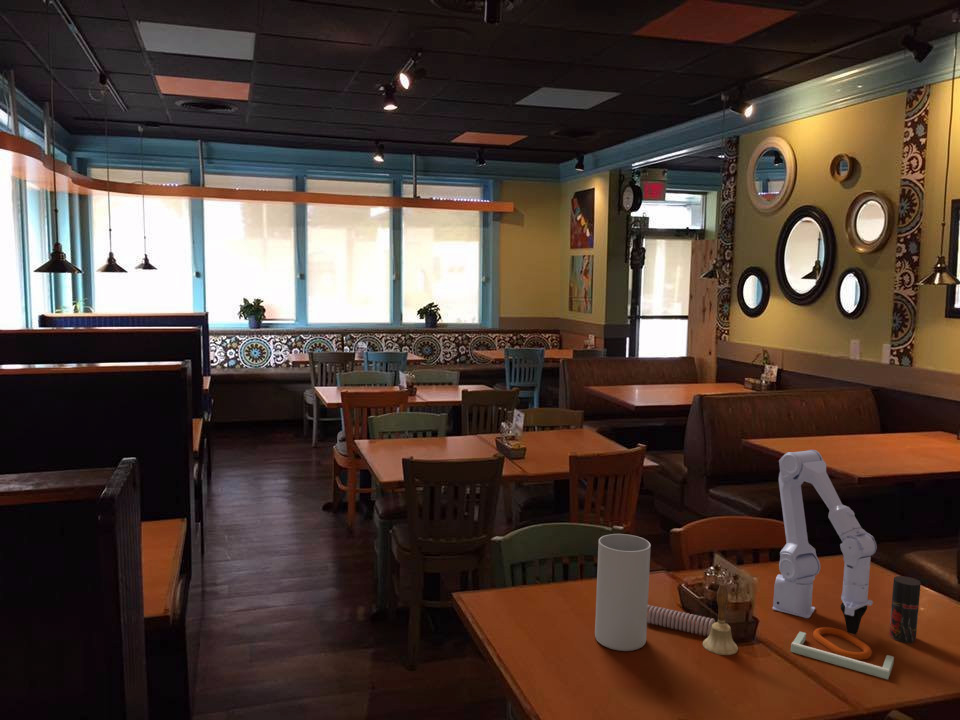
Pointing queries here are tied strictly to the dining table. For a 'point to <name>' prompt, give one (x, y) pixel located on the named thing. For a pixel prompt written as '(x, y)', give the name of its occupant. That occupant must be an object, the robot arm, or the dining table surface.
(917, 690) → the dining table surface
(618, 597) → the cylinder vase
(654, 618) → the coil
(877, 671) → the bar pull handle
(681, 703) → the dining table surface
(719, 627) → the hand bell
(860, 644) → the orange oval ring
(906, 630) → the deodorant
